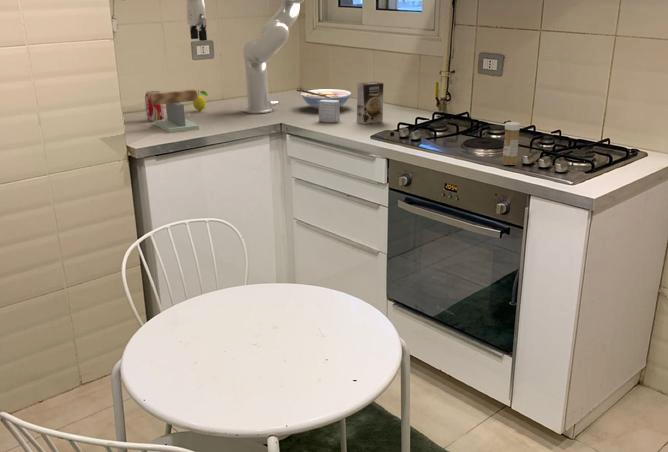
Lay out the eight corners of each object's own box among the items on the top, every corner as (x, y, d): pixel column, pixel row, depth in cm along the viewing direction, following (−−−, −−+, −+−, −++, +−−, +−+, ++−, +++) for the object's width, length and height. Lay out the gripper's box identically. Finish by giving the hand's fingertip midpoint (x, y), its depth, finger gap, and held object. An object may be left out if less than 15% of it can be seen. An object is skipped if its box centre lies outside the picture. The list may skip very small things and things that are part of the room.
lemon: (209, 110, 298) (207, 88, 295) (205, 112, 293) (203, 90, 289) (195, 110, 299) (193, 88, 295) (191, 112, 294) (189, 90, 290)
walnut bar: (153, 105, 256) (152, 94, 255) (151, 103, 259) (150, 93, 257) (197, 100, 265) (196, 90, 264) (194, 99, 268) (193, 89, 266)
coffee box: (364, 124, 266) (364, 84, 260) (356, 122, 271) (356, 82, 265) (383, 122, 269) (384, 83, 264) (375, 119, 275) (375, 81, 269)
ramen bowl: (362, 110, 294) (362, 92, 291) (320, 116, 282) (319, 97, 279) (331, 102, 314) (331, 85, 311) (290, 108, 302) (290, 90, 299)
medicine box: (339, 121, 273) (339, 100, 270) (336, 123, 269) (336, 102, 266) (322, 119, 276) (321, 99, 273) (318, 122, 272) (318, 101, 269)
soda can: (159, 122, 274) (156, 93, 270) (144, 121, 276) (141, 93, 271) (167, 118, 281) (164, 90, 277) (152, 118, 282) (148, 90, 278)
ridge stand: (182, 121, 276) (180, 97, 272) (199, 129, 261) (197, 104, 257) (155, 124, 270) (152, 100, 266) (170, 132, 255) (167, 107, 251)
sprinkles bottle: (499, 163, 208) (502, 121, 204) (512, 162, 209) (516, 121, 204) (505, 167, 204) (509, 124, 199) (519, 166, 205) (523, 124, 200)
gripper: (179, -4, 274) (183, 38, 280) (194, -3, 260) (197, 41, 266) (196, -4, 277) (199, 37, 283) (211, -4, 264) (215, 40, 270)
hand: (198, 39), depth 275 cm, fingers open, 9 cm apart
